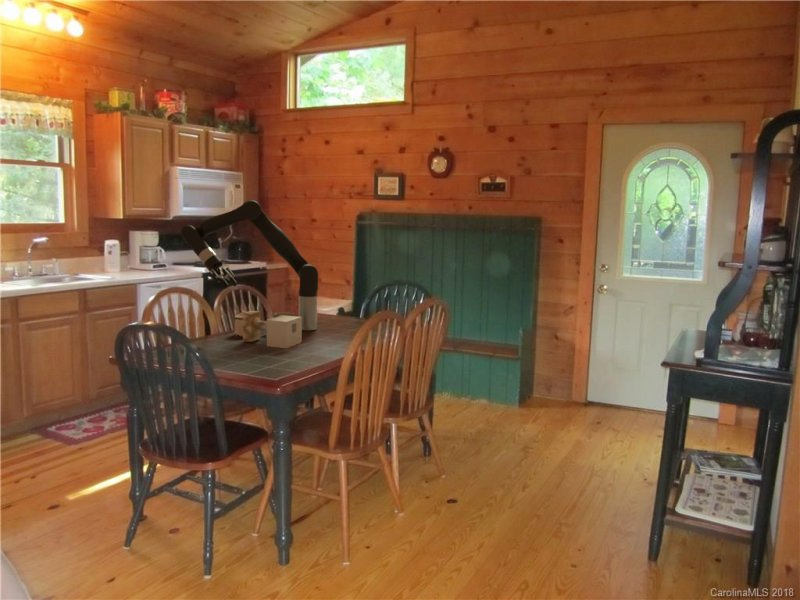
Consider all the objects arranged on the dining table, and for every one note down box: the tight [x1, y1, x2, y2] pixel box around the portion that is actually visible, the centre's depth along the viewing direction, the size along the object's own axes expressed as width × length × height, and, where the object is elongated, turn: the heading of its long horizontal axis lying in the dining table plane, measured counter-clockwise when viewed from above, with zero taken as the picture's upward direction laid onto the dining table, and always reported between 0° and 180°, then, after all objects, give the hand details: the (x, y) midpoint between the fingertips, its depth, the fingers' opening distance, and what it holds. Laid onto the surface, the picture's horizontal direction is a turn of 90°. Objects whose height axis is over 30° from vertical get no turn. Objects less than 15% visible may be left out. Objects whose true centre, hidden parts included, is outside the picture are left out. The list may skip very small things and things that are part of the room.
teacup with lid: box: [233, 310, 247, 336], centre depth 319 cm, size 12×9×12 cm
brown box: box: [242, 310, 267, 343], centre depth 301 cm, size 15×8×13 cm, turn 70°
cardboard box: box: [266, 315, 303, 349], centre depth 297 cm, size 10×14×12 cm
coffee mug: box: [266, 311, 295, 321], centre depth 322 cm, size 13×10×10 cm
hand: (231, 285), depth 308 cm, fingers open, 6 cm apart
